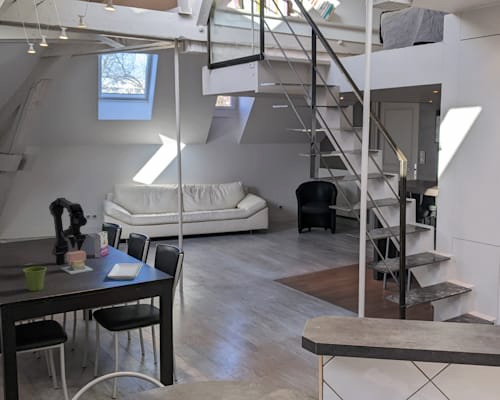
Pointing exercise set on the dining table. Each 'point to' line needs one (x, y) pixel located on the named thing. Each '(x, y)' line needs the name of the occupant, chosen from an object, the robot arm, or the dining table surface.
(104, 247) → the candy bar box
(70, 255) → the brick
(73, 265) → the brick
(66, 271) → the blueprint board
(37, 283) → the plant pot
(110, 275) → the tray
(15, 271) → the dining table surface
